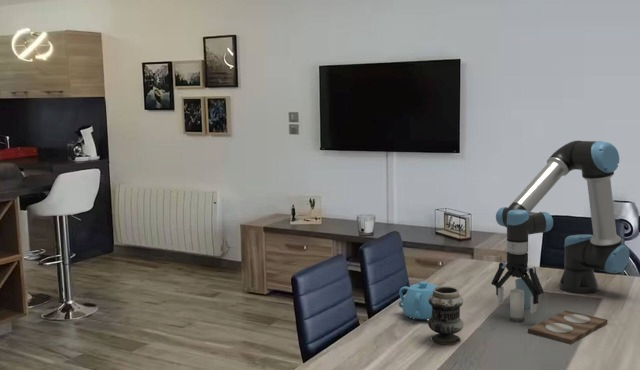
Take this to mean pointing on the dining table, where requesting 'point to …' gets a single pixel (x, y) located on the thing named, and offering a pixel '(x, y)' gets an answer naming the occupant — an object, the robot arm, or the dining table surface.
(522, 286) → the cup
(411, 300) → the decorative pot
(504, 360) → the dining table surface
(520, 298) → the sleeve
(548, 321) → the seat board
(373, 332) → the dining table surface
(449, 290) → the apothecary jar
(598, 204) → the robot arm
